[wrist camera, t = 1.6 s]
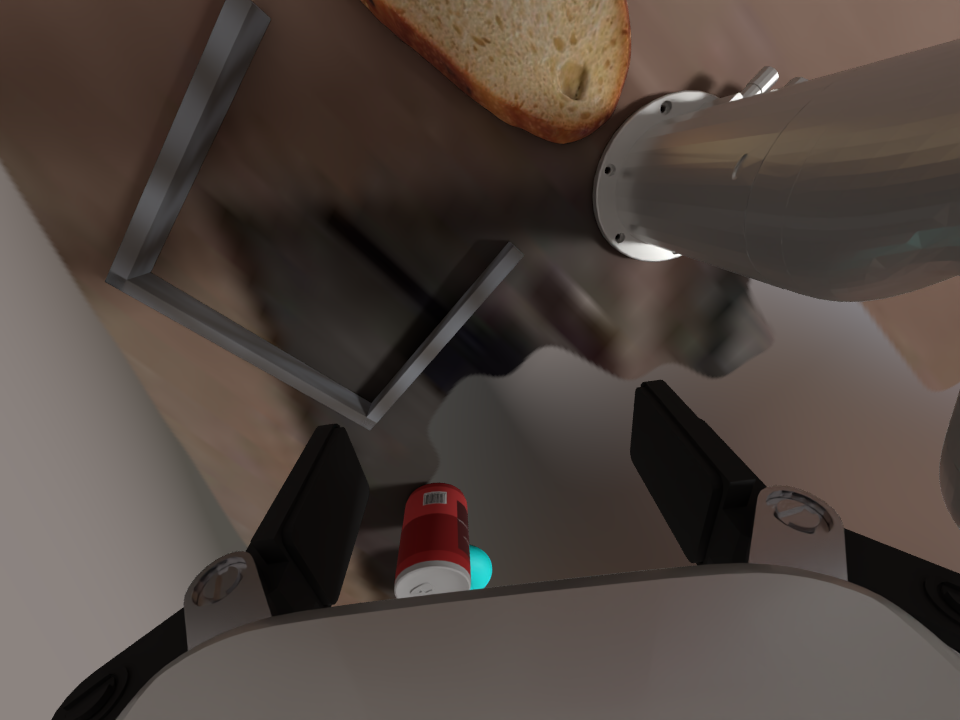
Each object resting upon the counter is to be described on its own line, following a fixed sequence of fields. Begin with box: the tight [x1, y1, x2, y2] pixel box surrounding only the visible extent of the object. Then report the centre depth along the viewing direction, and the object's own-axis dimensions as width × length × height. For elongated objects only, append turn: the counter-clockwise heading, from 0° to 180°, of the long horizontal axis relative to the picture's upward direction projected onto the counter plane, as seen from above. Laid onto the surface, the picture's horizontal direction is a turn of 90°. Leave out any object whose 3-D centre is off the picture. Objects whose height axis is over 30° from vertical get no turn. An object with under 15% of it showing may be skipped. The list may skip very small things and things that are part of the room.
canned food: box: [394, 483, 471, 599], centre depth 41 cm, size 8×8×11 cm
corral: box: [105, 0, 524, 430], centre depth 30 cm, size 23×24×2 cm
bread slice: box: [360, 0, 631, 144], centre depth 23 cm, size 18×18×4 cm
